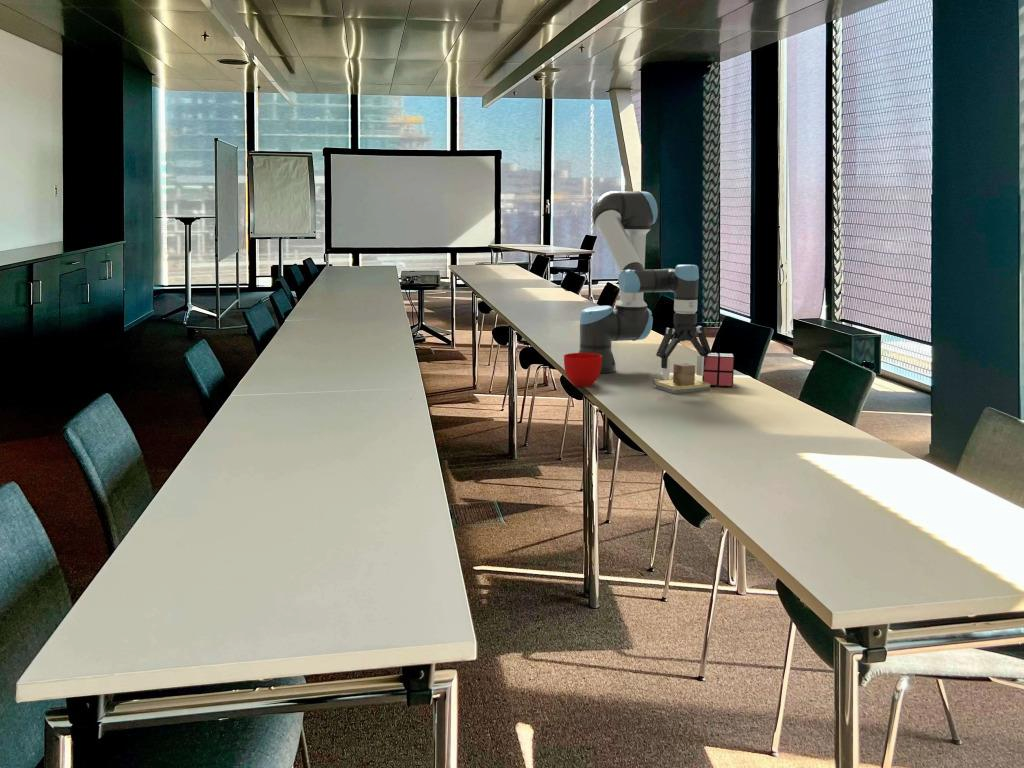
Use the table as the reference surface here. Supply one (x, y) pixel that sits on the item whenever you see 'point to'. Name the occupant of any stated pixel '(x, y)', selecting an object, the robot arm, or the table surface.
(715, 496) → the table surface
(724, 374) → the puzzle cube
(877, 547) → the table surface
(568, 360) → the ceramic cup
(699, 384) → the cream square panel
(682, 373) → the block
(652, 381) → the hinge base
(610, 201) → the robot arm
